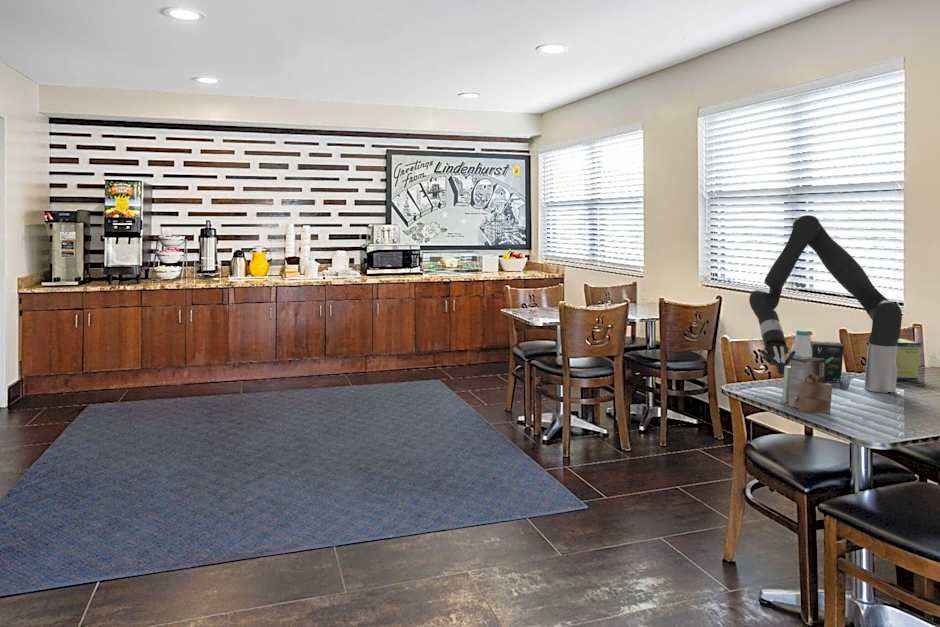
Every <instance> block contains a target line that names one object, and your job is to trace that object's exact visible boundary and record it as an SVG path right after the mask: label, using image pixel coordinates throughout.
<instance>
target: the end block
mask: <svg viewBox="0 0 940 627" xmlns="http://www.w3.org/2000/svg"><path fill="white" fill-rule="evenodd" d="M832 394H833V384H831V383H830V382H825V383H807V382H800V386H799V399H798V408H797V411H799V412H801V413H824V412H827V413H828V412H830V413H831V407H832V406H831V404H832Z"/></svg>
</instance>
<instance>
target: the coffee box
mask: <svg viewBox="0 0 940 627" xmlns="http://www.w3.org/2000/svg"><path fill="white" fill-rule="evenodd" d="M825 370H826V360H825V359H819V358H814V357H802V358H791V372H790V388H789V403H788V404H787V405H788V406H790V407H794V408H797V409H798V399H799V386H800V382H807V383H826V381H825Z"/></svg>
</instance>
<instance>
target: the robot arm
mask: <svg viewBox="0 0 940 627" xmlns="http://www.w3.org/2000/svg"><path fill="white" fill-rule="evenodd" d="M808 246H809V247H810V248H811V249H812V250H813V251H814V252H815V253H816V255H817V256H818V258H819V259H820V261H821V263H822V264H823V266H824V267H825V268H826V270H827V271H828V272H829V273H830V274H831V275H832V276H833V278H834V279H835V281H837V282H838V283H839V284H840V285H841V287H843V288H844V290H846V291H847V292H848V293H849V294H850V295H852V297H854V298H855V299H856V300H857V301H858V303H860V305H861V307H862V308H863V309H864V311H865V312H866V313H867V315H868V317H869V318H870V319H871V321H872V322H871V323H872V324H871V332H870V335H869V336H868V344H867V346H868V347H867V356H866V366H865V367H866V368H865V379H864V387H863V388H864V390H866V391H869V392H874V393H880V392H881V394H882V393H883V394H885V393H886V394H889V393H888V392H891V393H896V392H897V391H896V389H897V382H898V381H897V371H898V367H897V366H895V364H896V353H897V343H898V339H900V336H901V328H902V320H903V312H902V309H901V307H900V306H899V305H898V304H896V303H895V302H893V301H891V300H888V298H887V297H885V296H884V295H883V294H882V293H881V292H880V291H878V289H877V288H876V287H875V286H874V285H873V283H872V282H871V280H870V278H869V276H868V275H867V273H866V271H865V270H864V269H863V268H862V266H861V265H860V264H859V263H858V262H857V261H856V260H855V259H854V257H853V256H852V255H851V254H850V253H849V252H847V251H846V250H845V249H844V248H843V247H842V246H841V245H839V243H837V242H836V241H835V240H834V239H833V238H832V237H831V236H830V235H829V233H828V232H827V230H826V229H825V228H824V227H823V225H822V224H821V223H820V221H819V219H818V217H817V216H815V215H813V214H811V213H802V214H800V215H798V216H797V217H796V218H795V219H794V221H793V222H792V231H791V233H790V236H789V238H788V241H787V242H786V245H785V247H784V248H783V249H782V251H781V252H780V254H779V256H778V257H777V258H776V260H775V262H774V263H773V265H771V267H770V269H769V271H768V273H767V274H766V277H765V278H764V284H765V285H766V286H767V287H769V290H768V291H765V290H763V289H755V290H753V291H752V292H751V293H750V295H749V298H748V300H749V301H748V302H749V305H750V308H751V310H752V311H753V313H754V314H755V316H756V318H757V320H758V323H759V329H760V336H761V338H762V343H763V346H764V348H763V349H761V350H760V352H759V356H760V357H761V358H762V359H763V360H764V362H766V363H767V364H768V365H770V366H775V368H776V372H777V374H779V376H784V368H785V366H789V365H790V361H791V358H793V357H794V355H795V353H796V352H795V351H791V349H789V347H788V345H787V343H786V338H785V334H784V330H783V327H782V324H781V323H780V322H781V321H780V319H779V315H778V313H777V311H776V310H775V309H776V308H777V307H778V305H779V302H780V298H781V294H782V292H783V287H784V286H785V284H786V282H787V281H788V278H789V277H790V275H791V273H792V271H793V270H794V268H795V266H796V264H797V262H798V260H799V259H800V257H801V255H802V253H803V252H804V251H805V249H806V248H807V247H808ZM786 355H787V358H786ZM785 358H786V359H785Z"/></svg>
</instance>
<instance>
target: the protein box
mask: <svg viewBox="0 0 940 627" xmlns="http://www.w3.org/2000/svg"><path fill="white" fill-rule="evenodd" d="M921 347H922V342H918V341H914V340H910V339H907V338H899V339H898V343H897V353H896V364H895V366H897V367H898V371H897V380H917V381H918V377H919V369H920V368H919V366H920V359H921V358H920V356H921Z"/></svg>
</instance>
